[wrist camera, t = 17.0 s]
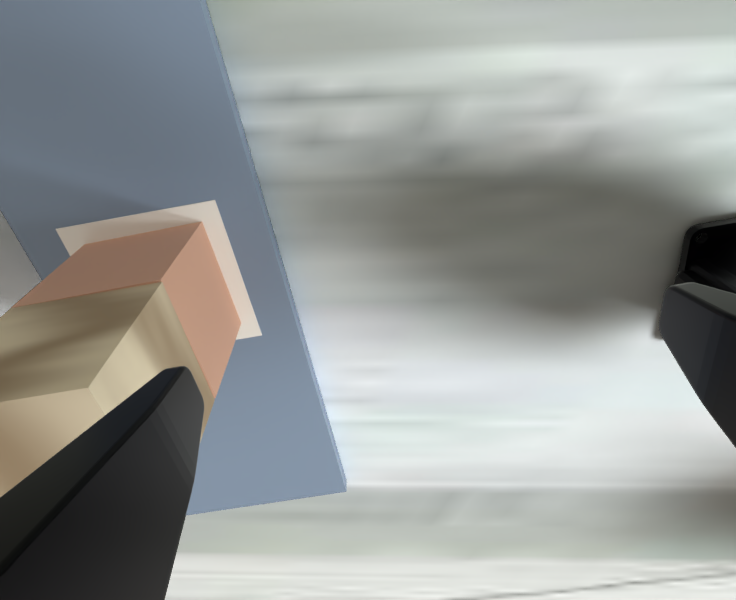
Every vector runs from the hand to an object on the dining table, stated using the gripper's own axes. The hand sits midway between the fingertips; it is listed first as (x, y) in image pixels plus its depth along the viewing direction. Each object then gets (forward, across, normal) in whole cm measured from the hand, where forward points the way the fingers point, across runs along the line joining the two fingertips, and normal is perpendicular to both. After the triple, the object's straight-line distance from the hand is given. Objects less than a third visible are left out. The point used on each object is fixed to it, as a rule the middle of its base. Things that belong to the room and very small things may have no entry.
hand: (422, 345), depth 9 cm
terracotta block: (+11, +10, +3) cm, 15 cm away
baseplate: (+12, +10, +3) cm, 16 cm away
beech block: (+6, +10, +3) cm, 12 cm away
